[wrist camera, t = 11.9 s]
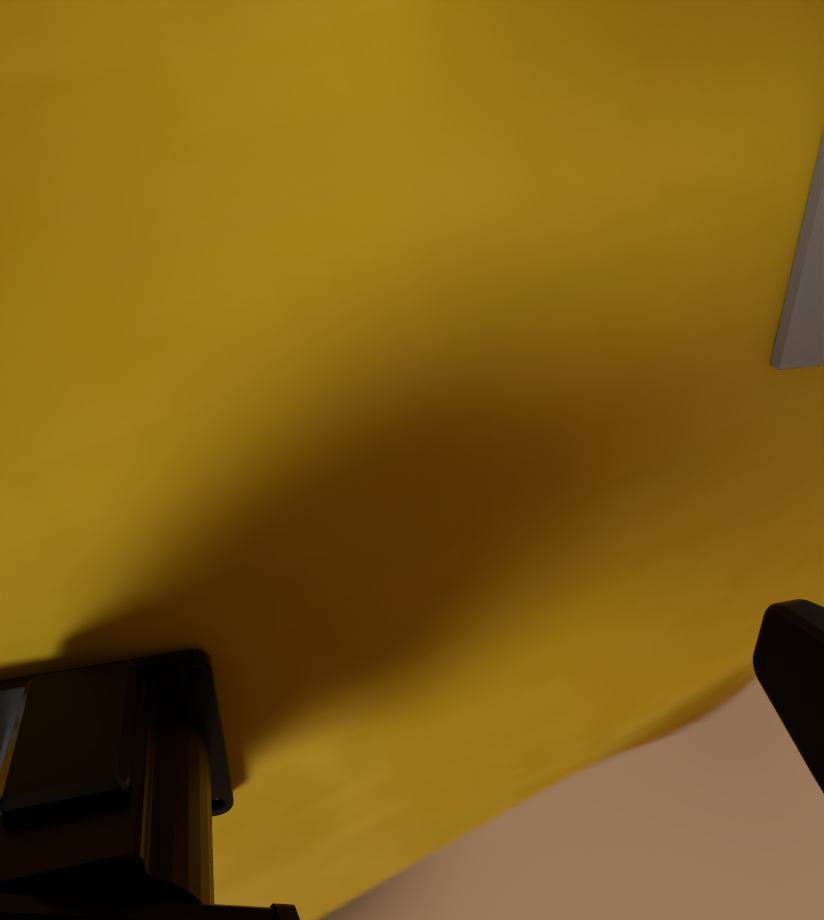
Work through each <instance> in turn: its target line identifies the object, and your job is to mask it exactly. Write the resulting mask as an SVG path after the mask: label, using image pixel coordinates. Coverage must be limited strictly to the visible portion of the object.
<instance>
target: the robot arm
mask: <svg viewBox="0 0 824 920" xmlns="http://www.w3.org/2000/svg"><path fill="white" fill-rule="evenodd" d="M192 665H194V666H199V668H197V669H195V670H189V669H187V667H189V666H192ZM753 666H754V671H755V674H756V676H757V678H758V680H759V682H760V684H761V686H762V687H763V689H764V691H765V693H766V694H767V696H768V698H769V700H770V701H771V703H772V705H773V707H774V708H775V710H776V712H777V714H778V715H779V717H780V719H781V721H782V722H783V724H784V726H785V728H786V730H787V731H788V733H789V735H790V737H791V738H792V740H793V742H794V743H795V745H796V747H797V749H798V751H799V752H800V754H801V756H802V757H803V759H804V761H805V763H806V765H807V766H808V768H809V770H810V772H811V773H812V775H813V777H814V778H815V780H816V782H817V783H818V785H819V787H820V788H821V790H822V791H823V793H824V607H822V606H820V605H817V604H815V603H813V602H810V601H807V600H803V599H796V600H790V601H785V602H779V603H774V604H772V605H770V606H769V607H768V608H767V609H766V611H765V613H764V616H763V620H762V624H761V627H760V631H759V635H758V638H757V642H756V646H755V650H754V653H753ZM215 799H216V800H215ZM232 806H233V788H232V782H231V776H230V770H229V764H228V758H227V752H226V746H225V740H224V734H223V728H222V722H221V716H220V710H219V704H218V698H217V692H216V686H215V680H214V674H213V668H212V662H211V658H210V656H209V654H207V653H206V652H205V651H202V650H199V649H189V650H183V651H177V652H171V653H165V654H159V655H153V656H147V657H141V658H135V659H129V660H123V661H117V662H111V663H105V664H99V665H93V666H87V667H81V668H75V669H69V670H63V671H57V672H51V673H45V674H39V675H33V676H27V677H21V678H15V679H9V680H3V681H0V920H300V918H299V916H298V913H297V910H296V907H295V906H294V905H290V904H272V905H271V906H270V907H254V906H236V905H219V904H214V878H213V843H212V816H217V815H221V814H224V813H226V812H227V811H229V810H230V809H231V807H232Z"/></svg>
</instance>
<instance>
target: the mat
mask: <svg viewBox="0 0 824 920" xmlns="http://www.w3.org/2000/svg"><path fill="white" fill-rule="evenodd" d="M770 365H771V366H773V367H775V368H777V369H779V370H781V369H790V368H800V367H809V366H818V365H824V132H823V136H822V140H821V145H820V149H819V154H818V158H817V162H816V167H815V171H814V175H813V180H812V184H811V189H810V193H809V197H808V202H807V206H806V210H805V215H804V219H803V224H802V228H801V232H800V237H799V241H798V245H797V250H796V254H795V259H794V263H793V267H792V272H791V276H790V280H789V285H788V289H787V294H786V298H785V302H784V307H783V311H782V315H781V320H780V324H779V329H778V333H777V337H776V342H775V346H774V350H773V355H772V359H771V364H770Z"/></svg>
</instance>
